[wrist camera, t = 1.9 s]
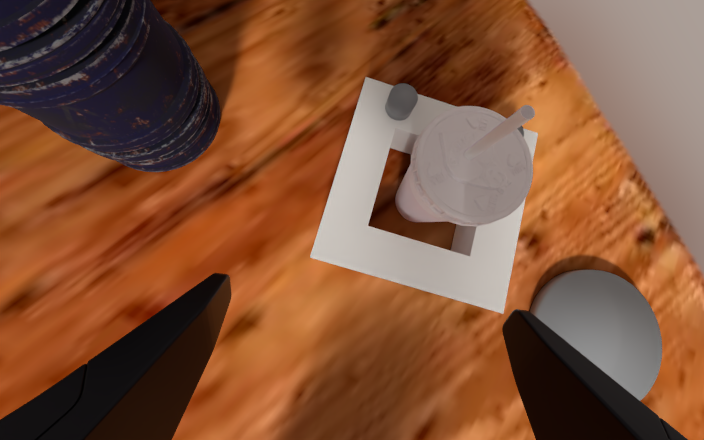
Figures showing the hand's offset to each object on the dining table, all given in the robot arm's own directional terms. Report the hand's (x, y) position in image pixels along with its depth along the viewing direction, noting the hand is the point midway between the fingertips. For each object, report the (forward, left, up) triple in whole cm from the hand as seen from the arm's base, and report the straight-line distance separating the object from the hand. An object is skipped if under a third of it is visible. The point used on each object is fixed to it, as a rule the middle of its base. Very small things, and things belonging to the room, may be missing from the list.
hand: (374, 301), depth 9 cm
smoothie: (+5, -7, -14) cm, 17 cm away
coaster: (-10, -19, -14) cm, 25 cm away
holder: (+5, -7, -14) cm, 16 cm away
